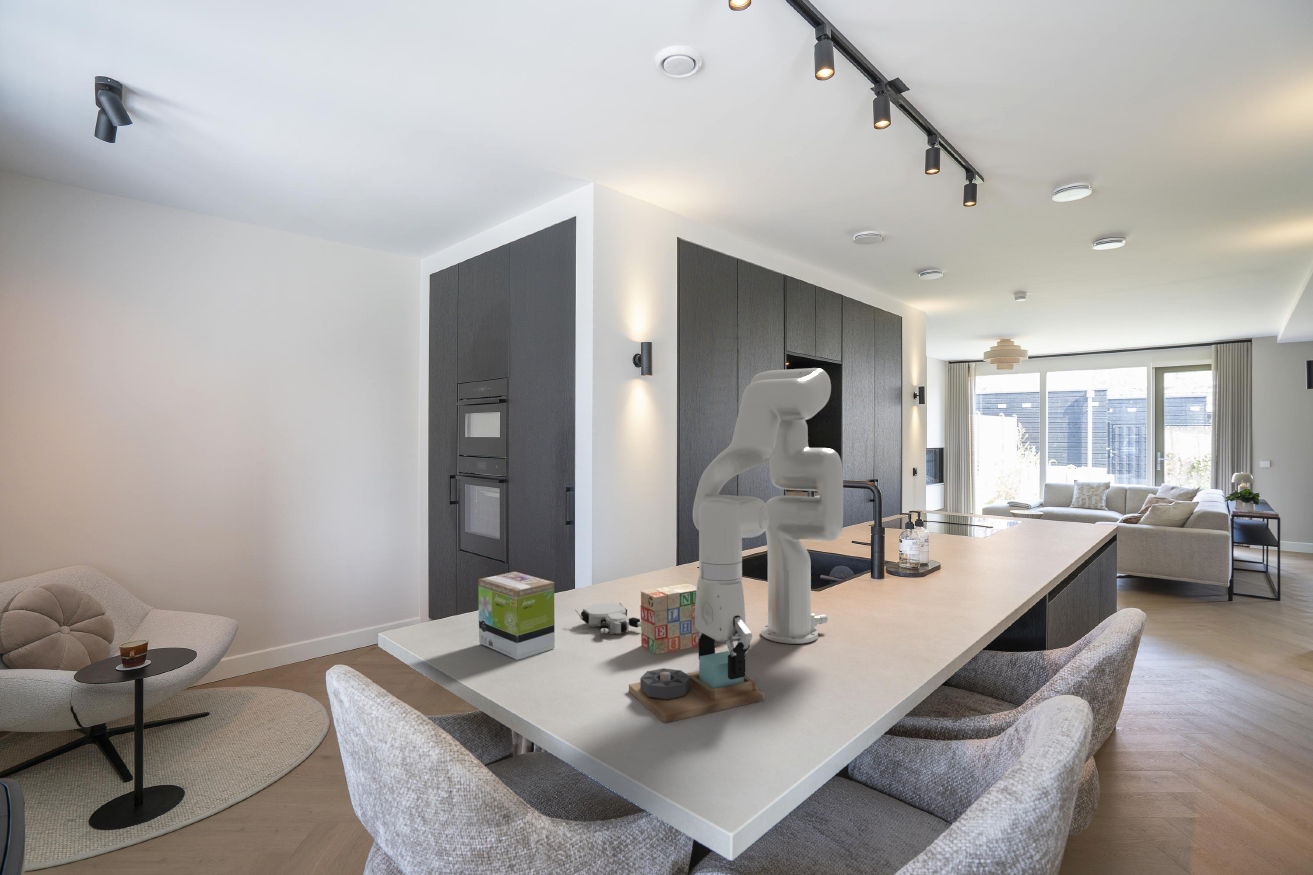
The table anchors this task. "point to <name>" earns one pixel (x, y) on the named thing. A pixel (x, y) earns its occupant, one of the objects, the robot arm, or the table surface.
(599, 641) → the table surface
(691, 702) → the chassis
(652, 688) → the wheel
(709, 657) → the teal nearly cubic block
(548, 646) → the tea box
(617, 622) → the robot toy
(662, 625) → the stack of blocks
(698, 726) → the table surface
